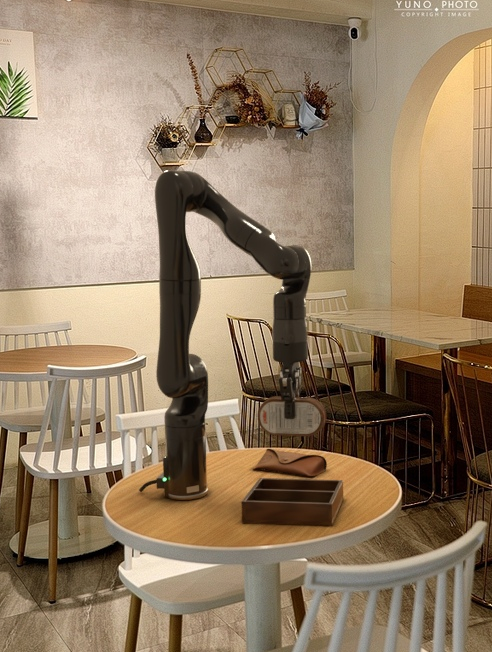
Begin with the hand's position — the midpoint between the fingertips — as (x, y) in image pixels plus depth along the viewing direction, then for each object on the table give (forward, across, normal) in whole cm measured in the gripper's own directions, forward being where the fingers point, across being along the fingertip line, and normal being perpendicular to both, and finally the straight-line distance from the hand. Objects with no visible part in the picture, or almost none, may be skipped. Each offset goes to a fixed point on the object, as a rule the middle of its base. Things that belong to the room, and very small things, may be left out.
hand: (291, 416), depth 191 cm
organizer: (+22, -1, 0) cm, 22 cm away
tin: (+4, 0, 0) cm, 4 cm away
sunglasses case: (+22, -31, -7) cm, 39 cm away
